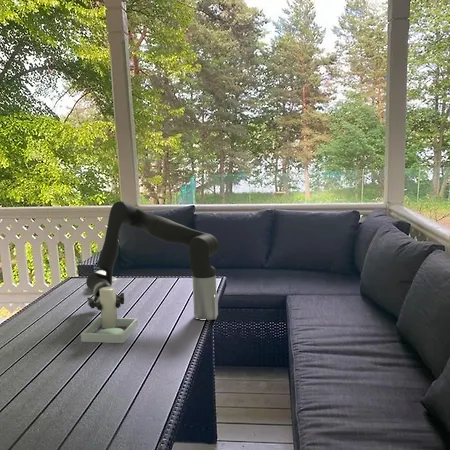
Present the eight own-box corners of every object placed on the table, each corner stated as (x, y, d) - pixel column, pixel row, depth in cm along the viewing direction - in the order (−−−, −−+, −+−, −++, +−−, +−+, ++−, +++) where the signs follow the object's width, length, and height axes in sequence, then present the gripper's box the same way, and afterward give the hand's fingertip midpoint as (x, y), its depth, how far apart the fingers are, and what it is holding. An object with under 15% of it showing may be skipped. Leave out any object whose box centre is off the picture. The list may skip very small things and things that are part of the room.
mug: (91, 291, 215) (90, 276, 214) (93, 286, 224) (92, 270, 223) (116, 289, 217) (115, 274, 216) (117, 284, 227) (116, 269, 225)
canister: (119, 322, 165) (117, 286, 163) (114, 328, 160) (111, 291, 157) (105, 322, 166) (103, 286, 164) (99, 328, 161) (96, 291, 158)
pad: (126, 329, 167) (126, 328, 167) (117, 338, 158) (117, 337, 158) (104, 328, 168) (104, 327, 168) (94, 338, 160) (94, 337, 159)
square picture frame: (138, 325, 170) (137, 318, 169) (123, 343, 155) (122, 335, 154) (99, 324, 172) (99, 317, 172) (81, 341, 157) (80, 333, 156)
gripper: (84, 286, 172) (87, 299, 156) (121, 281, 177) (128, 294, 161) (85, 305, 173) (89, 319, 157) (122, 299, 178) (130, 313, 162)
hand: (109, 306), depth 159 cm, fingers closed on canister, 5 cm apart
